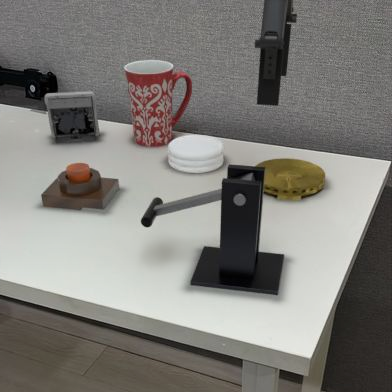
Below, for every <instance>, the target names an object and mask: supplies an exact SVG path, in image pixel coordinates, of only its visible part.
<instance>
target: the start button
mask: <svg viewBox="0 0 392 392" xmlns="http://www.w3.org/2000/svg"><path fill="white" fill-rule="evenodd" d="M90 168H91V167H90V165H89V164H88V163H84V162H74V163H71V164H68V165H66V167H65V170H66V171H67V177H68V180H70V181H77V182H78V181H85V180H87V179H90V178H91V174H90Z"/></svg>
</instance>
